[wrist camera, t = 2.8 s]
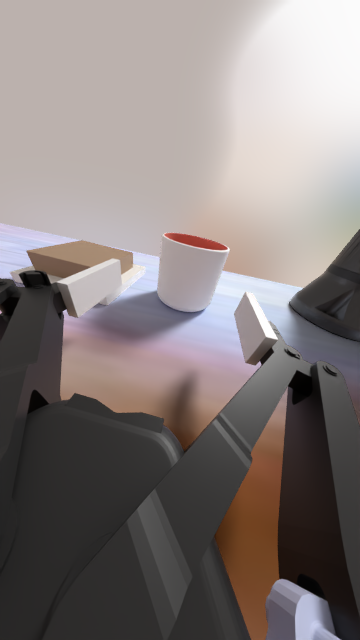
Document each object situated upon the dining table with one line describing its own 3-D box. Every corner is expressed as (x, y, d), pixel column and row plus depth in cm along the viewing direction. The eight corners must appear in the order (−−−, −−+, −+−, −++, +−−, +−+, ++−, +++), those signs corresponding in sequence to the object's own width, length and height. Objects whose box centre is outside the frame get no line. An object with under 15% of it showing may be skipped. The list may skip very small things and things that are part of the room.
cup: (197, 323, 22) (220, 255, 15) (145, 299, 24) (147, 233, 18) (215, 299, 29) (235, 246, 23) (173, 282, 32) (181, 231, 26)
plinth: (145, 273, 33) (145, 253, 30) (107, 305, 21) (102, 276, 18) (84, 258, 33) (80, 237, 31) (15, 281, 22) (-4, 250, 19)
